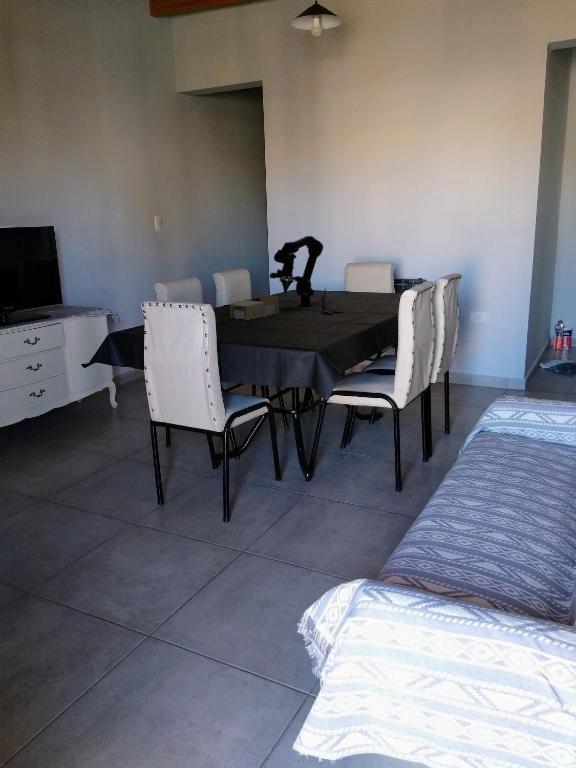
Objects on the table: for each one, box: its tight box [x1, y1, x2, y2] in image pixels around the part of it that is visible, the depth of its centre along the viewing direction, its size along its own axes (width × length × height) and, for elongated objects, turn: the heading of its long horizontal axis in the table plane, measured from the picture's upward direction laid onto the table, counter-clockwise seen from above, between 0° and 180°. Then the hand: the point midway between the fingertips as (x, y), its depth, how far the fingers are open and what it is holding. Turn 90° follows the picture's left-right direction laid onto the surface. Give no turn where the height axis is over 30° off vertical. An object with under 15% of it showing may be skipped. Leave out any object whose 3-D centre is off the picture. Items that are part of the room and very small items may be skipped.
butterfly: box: [317, 287, 342, 315], centre depth 343 cm, size 17×10×10 cm
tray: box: [233, 294, 280, 321], centre depth 341 cm, size 24×13×10 cm, turn 137°
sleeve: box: [229, 300, 267, 321], centre depth 337 cm, size 14×13×8 cm
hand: (285, 292), depth 354 cm, fingers closed
